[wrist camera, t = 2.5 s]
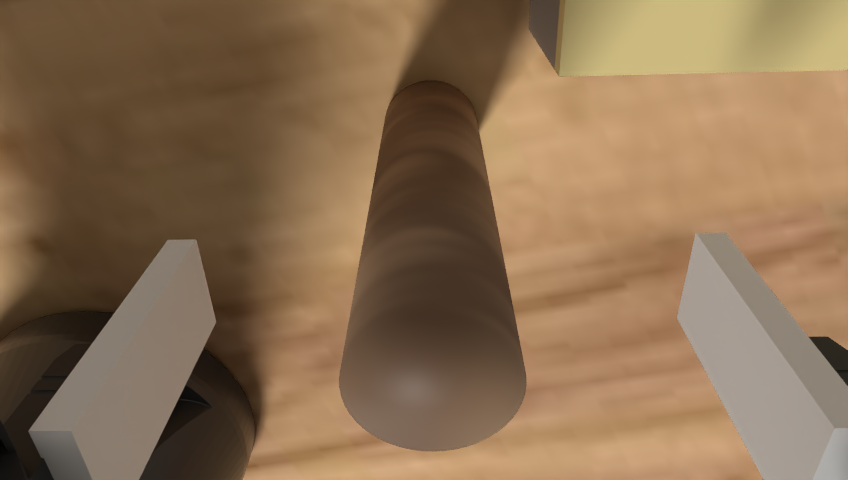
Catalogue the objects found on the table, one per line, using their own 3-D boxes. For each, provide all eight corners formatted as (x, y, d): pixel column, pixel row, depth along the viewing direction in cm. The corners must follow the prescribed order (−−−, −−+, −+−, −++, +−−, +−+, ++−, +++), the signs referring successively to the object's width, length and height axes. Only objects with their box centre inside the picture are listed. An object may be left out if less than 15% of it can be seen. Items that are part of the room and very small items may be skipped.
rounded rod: (387, 169, 28) (347, 452, 15) (381, 81, 26) (329, 312, 13) (476, 167, 28) (521, 450, 14) (477, 79, 26) (532, 309, 12)
